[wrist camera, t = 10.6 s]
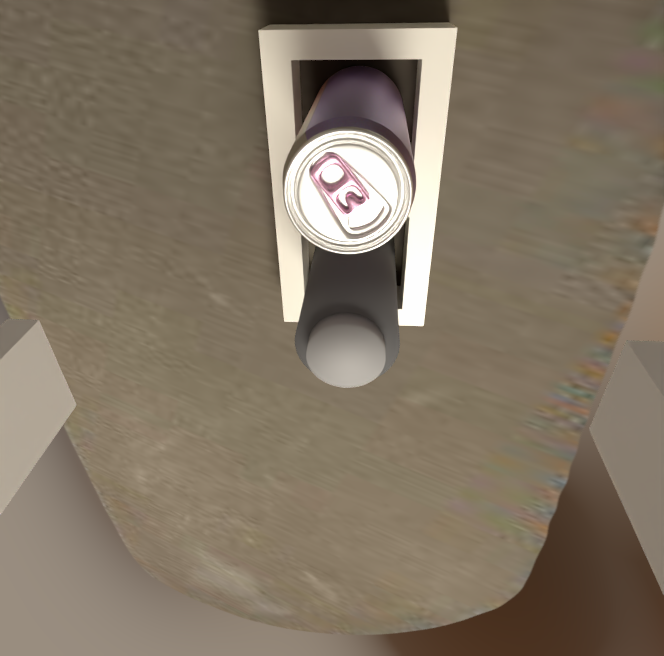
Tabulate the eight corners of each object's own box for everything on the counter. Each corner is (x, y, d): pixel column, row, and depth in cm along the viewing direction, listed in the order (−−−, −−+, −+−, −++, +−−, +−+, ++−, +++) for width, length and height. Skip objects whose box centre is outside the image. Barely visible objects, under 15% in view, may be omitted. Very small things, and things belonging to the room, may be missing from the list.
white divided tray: (269, 24, 31) (258, 30, 28) (449, 22, 30) (457, 27, 27) (290, 298, 42) (284, 321, 40) (420, 301, 42) (423, 326, 39)
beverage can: (368, 42, 31) (361, 89, 19) (420, 122, 33) (444, 209, 21) (296, 105, 33) (249, 183, 21) (350, 175, 36) (336, 281, 24)
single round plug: (316, 206, 37) (288, 311, 26) (396, 207, 37) (404, 314, 25) (318, 275, 41) (295, 395, 29) (392, 277, 40) (397, 399, 29)
